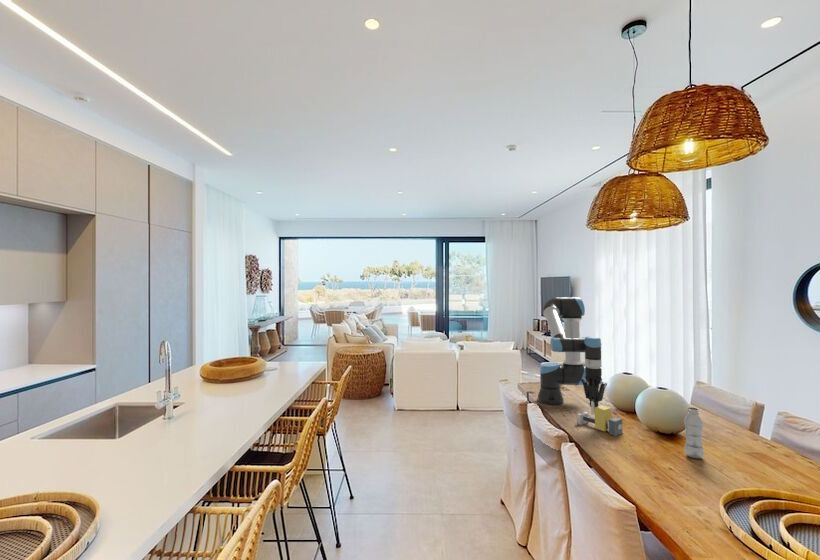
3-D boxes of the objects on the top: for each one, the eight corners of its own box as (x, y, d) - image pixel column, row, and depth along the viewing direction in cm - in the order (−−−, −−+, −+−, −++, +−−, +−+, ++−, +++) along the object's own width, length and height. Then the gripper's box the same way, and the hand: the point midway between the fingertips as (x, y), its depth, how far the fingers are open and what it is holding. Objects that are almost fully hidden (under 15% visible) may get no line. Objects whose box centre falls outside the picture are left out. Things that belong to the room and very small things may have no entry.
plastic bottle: (700, 454, 160) (699, 407, 160) (706, 461, 154) (705, 412, 154) (682, 452, 162) (681, 405, 162) (688, 459, 156) (686, 410, 156)
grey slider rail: (585, 421, 201) (585, 407, 201) (624, 433, 183) (624, 419, 183) (577, 423, 197) (576, 410, 197) (616, 437, 180) (615, 422, 180)
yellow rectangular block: (602, 425, 192) (601, 405, 193) (611, 428, 188) (611, 407, 188) (595, 428, 189) (594, 407, 189) (604, 431, 185) (604, 410, 185)
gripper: (577, 365, 197) (578, 411, 196) (600, 370, 186) (601, 419, 185) (586, 364, 201) (587, 409, 200) (609, 368, 189) (610, 416, 189)
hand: (594, 413), depth 193 cm, fingers closed
